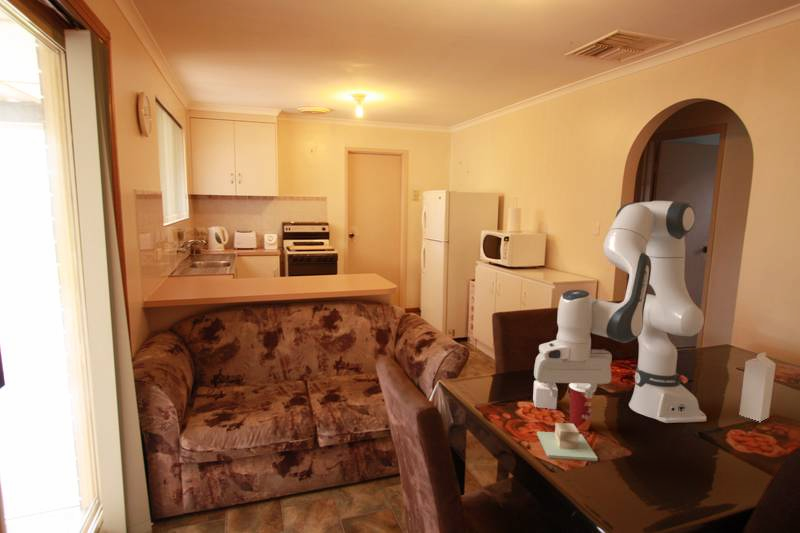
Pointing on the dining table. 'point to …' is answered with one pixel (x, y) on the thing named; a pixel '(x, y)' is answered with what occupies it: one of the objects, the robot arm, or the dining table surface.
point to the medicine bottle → (544, 396)
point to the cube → (566, 435)
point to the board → (555, 452)
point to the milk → (757, 388)
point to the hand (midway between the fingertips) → (571, 396)
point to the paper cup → (580, 406)
